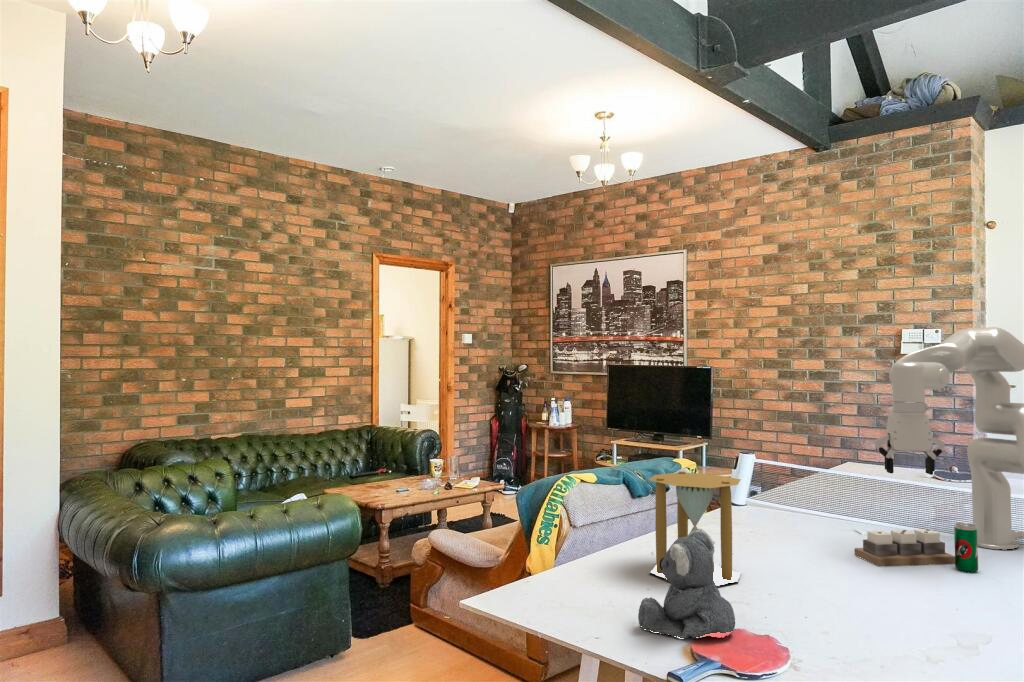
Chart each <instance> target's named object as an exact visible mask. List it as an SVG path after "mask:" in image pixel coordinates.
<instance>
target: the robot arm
mask: <svg viewBox="0 0 1024 682" xmlns="http://www.w3.org/2000/svg"><path fill="white" fill-rule="evenodd" d="M963 367H965V369H966V370H967V372H968V373H969V374H970V376H971V379H973V382H974V384H975V404H974V405H975V406H974V407H975V408H974V410H975V411H974V423H975V424H974V425H975V427H976V429H977V430H979V432H982V433H986V434H991V435H1003V436H1004V435H1005V436H1015V438H1016V440H1015V439H1006V438H1005V439H1004V438H994V437H993V438H991V437H979V438H975V439H972V440H971V441H970V442H969V444H967V449H966V455H967V458H968V459H967V460H968V464H969V469H970V476H971V496H972V497H971V501H972V503H971V505H972V506H971V509H972V510H971V511H972V524H974V525H975V527H976V529H977V541H978V547H979V546H980V547H979V548H984V549H991V550H999V549H1002V551H1003V550H1005V551H1007V549H1013V550H1015V549H1014V548H1017V547H1018V548H1019V543H1018V542H1017V541H1016V540H1018V539H1024V531H1017V532H1016V531H1015V530H1013V529H1012V499H1011V498H1012V497H1011V496H1012V493H1011V492H1012V491H1011V485H1010V483H1009V481H1008V479H1007V478H1006V476H1005V475H1004V474H1003V473H1011V474H1021V475H1024V403H1023V402H1022V403H1021V402H1011V386H1010V383H1009V381H1007V379H1006V378H1005V376H1004V375H1003V374H1002V373H1006V372H1007V373H1017V372H1021V371H1023V370H1024V343H1023V342H1022V341H1021V340H1019V339H1018V338H1017V337H1016V336H1014V335H1013V334H1012V333H1011V332H1009V331H1008V330H1006V329H1003V328H1001V327H996V326H995V327H994V326H990V327H989V326H988V327H968V328H961V329H960V330H957V331H956V332H954V333H953V334H952V335H950V336H949V337H947V338H946V339H944V340H943V341H941V342H940V343H939V344H936V345H932V346H928V347H926V348H923V349H920V350H915V351H912V352H910V353H907V354H906V355H904V356H902V357H901V358H899V359H898V360H897V361H895V362H894V363H893V364H892V366H891V367H890V370H889V374H888V377H889V381H890V382H891V384H892V412H891V413H889V412H888V413H889V414H888V418H887V421H886V422H887V424H886V434H885V435H883V436H881V437H879V438H877V439H875V440H873V444H874V446H875V448H876V449H877V451H878V452H879V454H881V455H882V457H884V469H885V471H886V473H888V474H893V473H894V458H892V457H893V456H894V455H895V454H896V452H908V453H909V452H910V453H911V452H912V453H923V454H924V455H925V456H926V457H925V458H924V459H925V464H924V465H925V469H924V470H925V474H927V475H930V476H933V475H934V472H935V470H936V469H935V468H936V465H935V463H936V461H935V460H937V458H938V457H939V456H940V455H941V454H942V453H943V450H944V449H945V446H946V442H944V441H942V440H941V439H939V438H936V437H934V436H933V435H932V428H931V423H930V418H929V415H928V414H926V412H927V411H930V410H931V409H932V407H931V405H930V404H928V403H927V402H926V390H927V391H928V390H929V391H935V390H940V389H941V390H942V389H943V388H945V387H946V386H947V385H948V383H949V382H950V378H951V375H950V372H954V371H958V370H960V369H962V368H963ZM883 443H885V446H886V449H885V448H884V447H883V446H882V444H883ZM933 444H935V445H936V447H935V449H933ZM932 449H933V450H932ZM1018 548H1017V549H1018Z"/></svg>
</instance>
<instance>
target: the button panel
mask: <svg viewBox="0 0 1024 682" xmlns="http://www.w3.org/2000/svg"><path fill="white" fill-rule="evenodd" d="M855 555H856V557H857V556H859V557H861V558H860V559H862V558H863V559H862V560H864V559H865V560H864V561H866V560H867V561H866V562H868V561H869V562H868V563H870V562H871V563H870V564H872V563H873V565H874V564H875V566H877V565H878V566H877V567H879V566H884V567H901V566H902V567H905V566H908V565H909V566H930V565H929V564H937V565H955V555H953V554H950V553H947V552H946V543H945V542H944V541H941V540H940V543H923V542H921V541H918V540H916V543H912V544H900V543H898V542H895V541H892V544H883V545H876V544H874V543H872V542H869V541H867V539H863V540H862V547H855V548H854V556H855ZM859 557H858V558H859Z"/></svg>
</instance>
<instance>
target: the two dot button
mask: <svg viewBox="0 0 1024 682" xmlns="http://www.w3.org/2000/svg"><path fill="white" fill-rule="evenodd" d="M913 533H915V534H916V540H918V541H921V542H923V543H940V541H941V533H940V532H938V531H936V530H932V529H929V528H928V529H927V528H926V529H913Z"/></svg>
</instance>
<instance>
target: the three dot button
mask: <svg viewBox="0 0 1024 682" xmlns="http://www.w3.org/2000/svg"><path fill="white" fill-rule="evenodd" d="M890 534H892V541H895V542H898V543H900V544H912V543H916V534H915V533H914V532H911V531H909V530H907V529H897V530H896V529H895V530H894V529H892V530H890Z"/></svg>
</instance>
